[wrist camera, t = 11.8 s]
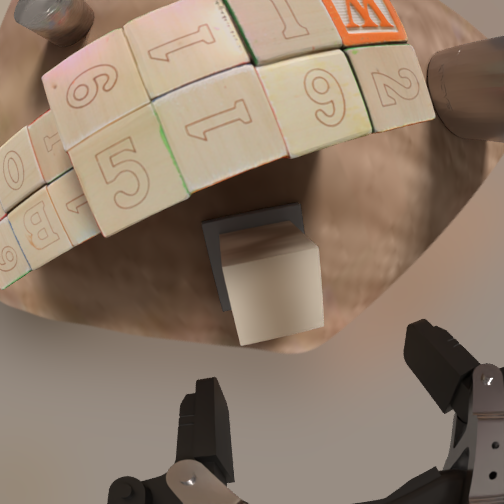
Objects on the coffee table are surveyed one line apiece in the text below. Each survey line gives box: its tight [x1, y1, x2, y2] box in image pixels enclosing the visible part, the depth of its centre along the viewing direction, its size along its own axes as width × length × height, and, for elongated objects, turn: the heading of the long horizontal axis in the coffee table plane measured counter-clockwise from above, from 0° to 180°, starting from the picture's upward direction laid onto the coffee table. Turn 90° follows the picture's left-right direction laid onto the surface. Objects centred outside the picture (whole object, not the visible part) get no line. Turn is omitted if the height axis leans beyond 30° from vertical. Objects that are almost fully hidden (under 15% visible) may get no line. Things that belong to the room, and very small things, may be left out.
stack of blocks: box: [0, 0, 435, 290], centre depth 13 cm, size 21×6×12 cm, turn 110°
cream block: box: [219, 221, 324, 346], centre depth 18 cm, size 5×5×6 cm
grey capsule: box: [14, 0, 94, 47], centre depth 11 cm, size 4×4×6 cm
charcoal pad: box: [202, 202, 304, 312], centre depth 21 cm, size 7×7×1 cm
